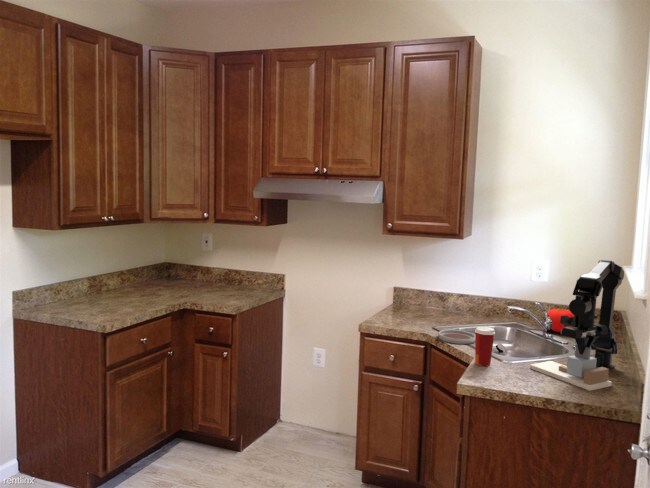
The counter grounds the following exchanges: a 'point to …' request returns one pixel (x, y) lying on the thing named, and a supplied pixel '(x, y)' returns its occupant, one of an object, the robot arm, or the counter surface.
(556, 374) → the mounting board
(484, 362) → the paper cup
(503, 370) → the counter surface
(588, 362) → the cabinet block
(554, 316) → the red bell pepper
